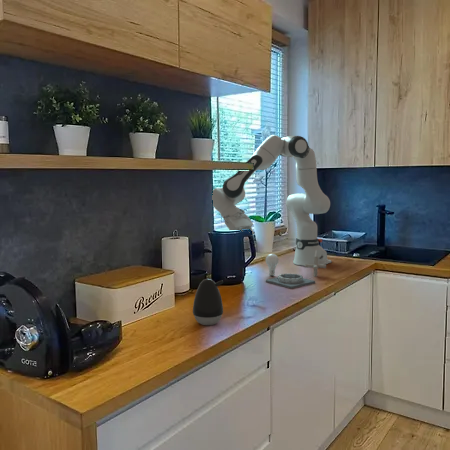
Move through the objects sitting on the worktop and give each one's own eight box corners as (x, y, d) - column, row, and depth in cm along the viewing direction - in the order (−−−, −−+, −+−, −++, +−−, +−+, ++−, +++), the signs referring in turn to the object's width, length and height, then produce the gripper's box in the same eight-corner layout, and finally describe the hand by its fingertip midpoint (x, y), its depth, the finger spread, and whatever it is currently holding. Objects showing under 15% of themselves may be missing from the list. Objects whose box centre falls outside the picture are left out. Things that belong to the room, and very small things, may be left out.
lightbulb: (274, 277, 217) (275, 255, 216) (263, 276, 221) (263, 254, 219) (280, 275, 223) (280, 253, 221) (269, 273, 226) (269, 252, 225)
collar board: (289, 276, 219) (289, 270, 219) (315, 283, 207) (315, 276, 207) (265, 281, 209) (265, 275, 209) (291, 288, 197) (291, 282, 197)
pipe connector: (326, 279, 215) (326, 258, 214) (304, 278, 217) (305, 257, 216) (325, 274, 225) (326, 254, 224) (305, 273, 227) (305, 253, 226)
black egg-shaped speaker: (227, 326, 149) (227, 281, 148) (196, 329, 146) (196, 283, 145) (219, 316, 159) (218, 274, 157) (190, 319, 156) (189, 276, 154)
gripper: (226, 212, 219) (243, 233, 215) (244, 209, 236) (261, 229, 233) (217, 220, 221) (235, 242, 218) (237, 217, 239) (253, 237, 235)
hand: (249, 235), depth 225 cm, fingers open, 8 cm apart
